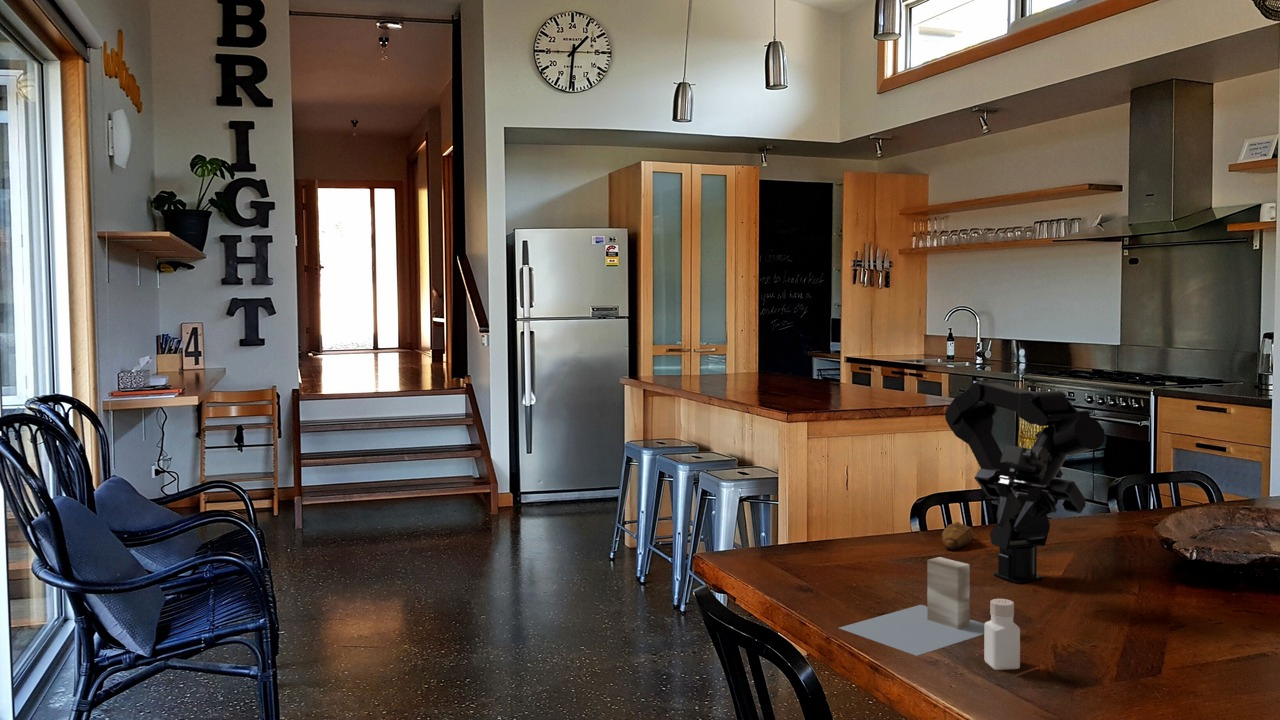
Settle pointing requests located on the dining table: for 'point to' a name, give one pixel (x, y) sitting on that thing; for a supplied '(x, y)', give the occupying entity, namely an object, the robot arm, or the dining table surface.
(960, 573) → the beige streaked block
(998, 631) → the pepper shaker
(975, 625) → the mat
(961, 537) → the croissant
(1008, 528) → the robot arm
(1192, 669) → the dining table surface
